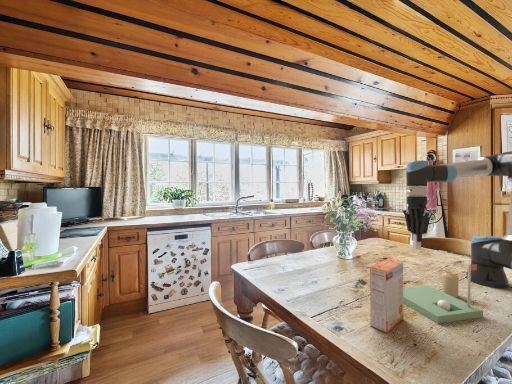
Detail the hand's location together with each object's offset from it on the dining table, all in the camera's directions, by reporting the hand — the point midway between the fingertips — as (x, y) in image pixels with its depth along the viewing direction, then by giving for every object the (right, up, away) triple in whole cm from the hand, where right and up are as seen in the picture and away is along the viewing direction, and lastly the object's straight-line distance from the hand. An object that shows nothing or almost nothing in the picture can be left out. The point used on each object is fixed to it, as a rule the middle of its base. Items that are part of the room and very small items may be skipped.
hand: (416, 248), depth 104 cm
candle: (+14, -21, 0) cm, 25 cm away
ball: (0, -19, -14) cm, 23 cm away
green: (0, -21, -9) cm, 23 cm away
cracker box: (-25, -21, -21) cm, 39 cm away
